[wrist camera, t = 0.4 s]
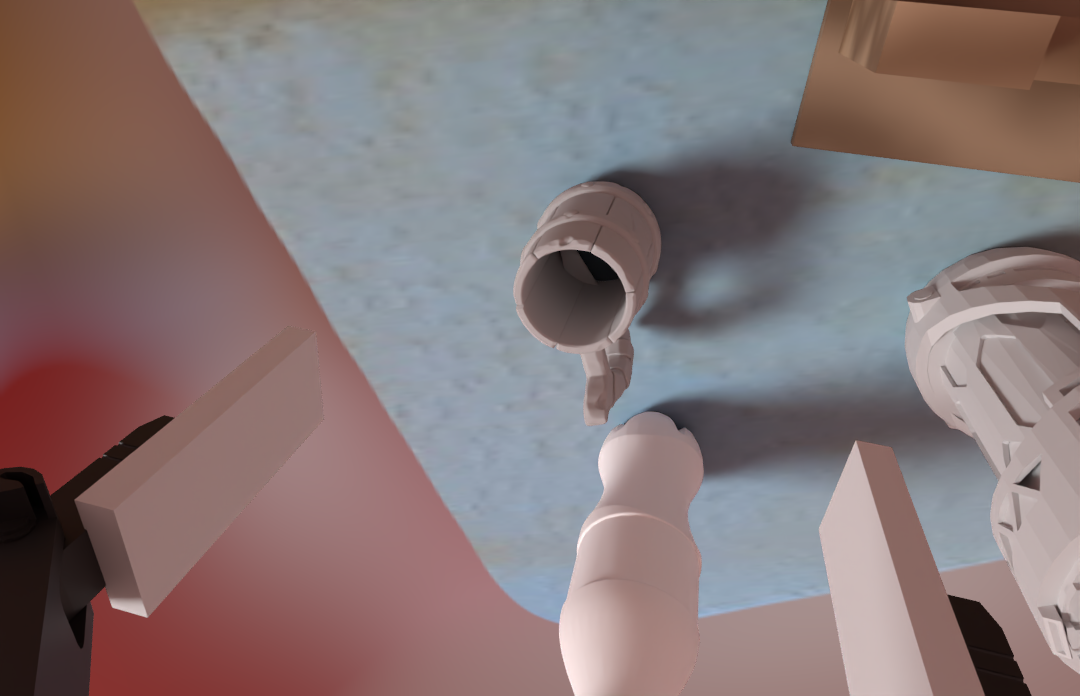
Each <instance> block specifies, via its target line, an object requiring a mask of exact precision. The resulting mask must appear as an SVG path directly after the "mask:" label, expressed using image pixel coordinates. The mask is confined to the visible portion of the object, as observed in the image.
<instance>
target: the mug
mask: <svg viewBox="0 0 1080 696" xmlns="http://www.w3.org/2000/svg"><path fill="white" fill-rule="evenodd" d="M537 228H538V229H537V231H536V232H535V233H534V235H533V236H532V237H531V239H530V240H529V242H528V243H527V245H526V246H525V247H524V248H523V250H522V254H521V261H520V268H519V270H518V272H517V274H516V278H515V282H514V290H513V294H514V298H515V302H516V304H517V307H516V311H517V313H518V315H519V317H520V319H521V321H522V323H523V324H524V326H525V327H526V328H527V329H528V330H529V332H530V333H531V334H532V335H533V336H534V337H535V338H537V339H538V340H539V341H540V342H542V343H544V344H545V345H547V346H550V347H551V348H554V347H555V346H556V345H557V346H556V348H557V350H560V351H564V352H567V353H574V354H580V355H581V358H582V362H583V366H584V369H585V372H586V377H587V382H586V389H585V396H584V406H583V410H584V419H585V423H586V425H587V426H593V425H600V424H605V423H606V422H607V420H608V414H609V410H610V408H612V407H613V406H614V403H615V402H616V401H617V400H618V399H619V398H620V397H621V395H622V393H623V392H624V390H625V389H627V388H628V387H629V384H630V380H631V375H632V365H633V357H634V349H633V346H632V344H631V340H630V332H629V329H628V328H629V326H630V324H631V322H632V320H633V318H634V316H635V315H636V314H637V312H638V311H639V310H640V308H641V307H642V305H643V304H644V303H645V301H646V299H647V297H648V289H649V280H650V279H651V277H652V275H654V274H655V273H656V271H657V268H658V262H659V258H660V254H661V233H660V229H659V225H658V222H657V220H656V218H655V216H654V214H653V212H652V211H651V209H650V208H649V206H648V205H647V204H646V203H645V202H644V200H643V199H642V198H641V197H640V196H639V195H637V194H636V193H635V192H633V191H632V190H630V189H628V188H626V187H622V186H620V185H619V184H617V183H613V182H605V181H600V182H586V183H582V184H578V185H576V186H573V187H571V188H569V189H567V190H566V191H564V192H562V193H561V194H560V195H558V196H557V197H556V198H555V199H554V200H553V201H552V202H551V203H550V204H549V206H548V207H547V208H546V210H545V212H544V213H543V215H542V217H541V218H540V219H539V222H538V225H537ZM560 250H561V255H562V257H561V255H560V253H559V251H560ZM577 250H582V251H588V252H591V253H592V254H594V255H596V256H598V257H599V258H601V259H603V260H604V261H605V262H607V263H608V264H609V265H610V266H611V267H612V268H613V269H614V270H615V272H616V273H617V274H618V276H619V279H616V280H609V281H597V280H595V279H594V278H593V276H592V274H591V273H590V271H589V270H588V268H587V266H586V265H585V263H584V261H583V260H582V258H581V257H580V255H579V253H578V252H577Z"/></svg>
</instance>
